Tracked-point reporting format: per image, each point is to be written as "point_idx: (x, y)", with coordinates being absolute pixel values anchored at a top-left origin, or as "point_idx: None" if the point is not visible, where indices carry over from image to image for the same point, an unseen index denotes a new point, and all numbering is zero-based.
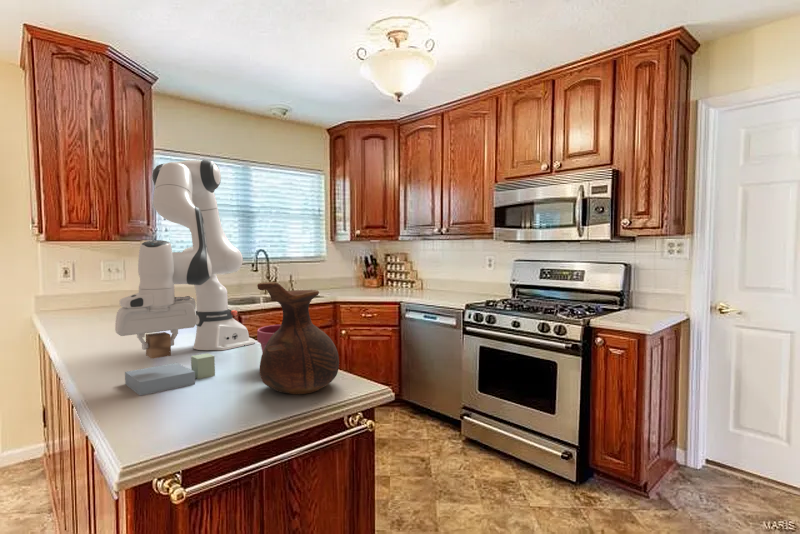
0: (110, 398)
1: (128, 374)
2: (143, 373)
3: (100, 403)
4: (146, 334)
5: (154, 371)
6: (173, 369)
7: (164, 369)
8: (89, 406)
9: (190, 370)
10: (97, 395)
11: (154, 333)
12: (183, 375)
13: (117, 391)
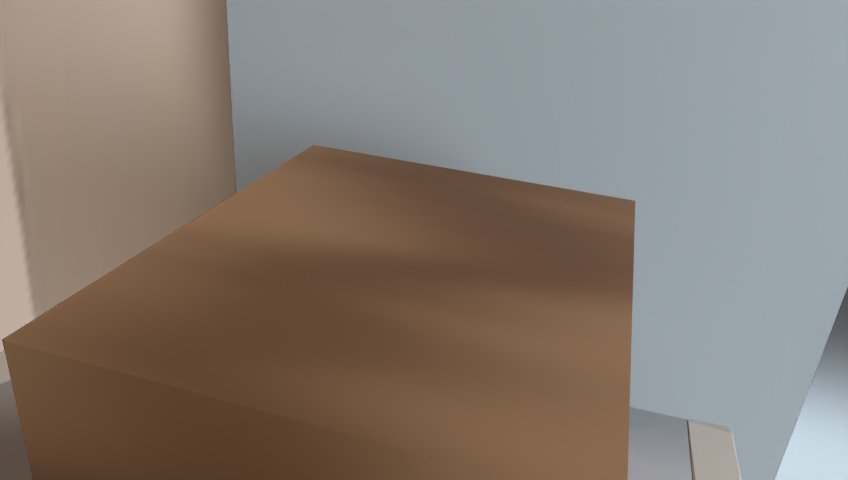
0: (138, 216)
1: (228, 21)
2: (356, 128)
3: (82, 266)
4: (22, 377)
5: (476, 145)
6: (673, 251)
7: (601, 157)
8: (31, 267)
9: (764, 455)
10: (70, 55)
11: (245, 432)
12: None
13: (198, 73)
